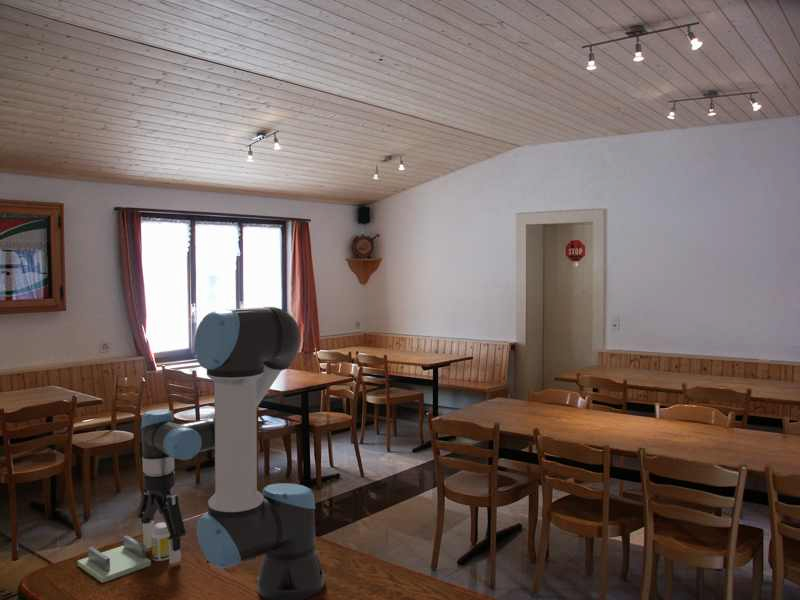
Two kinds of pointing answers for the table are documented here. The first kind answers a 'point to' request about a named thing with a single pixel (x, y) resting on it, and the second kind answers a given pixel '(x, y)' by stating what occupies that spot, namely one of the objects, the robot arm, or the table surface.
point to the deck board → (115, 564)
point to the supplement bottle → (160, 542)
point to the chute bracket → (104, 561)
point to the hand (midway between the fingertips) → (161, 554)
